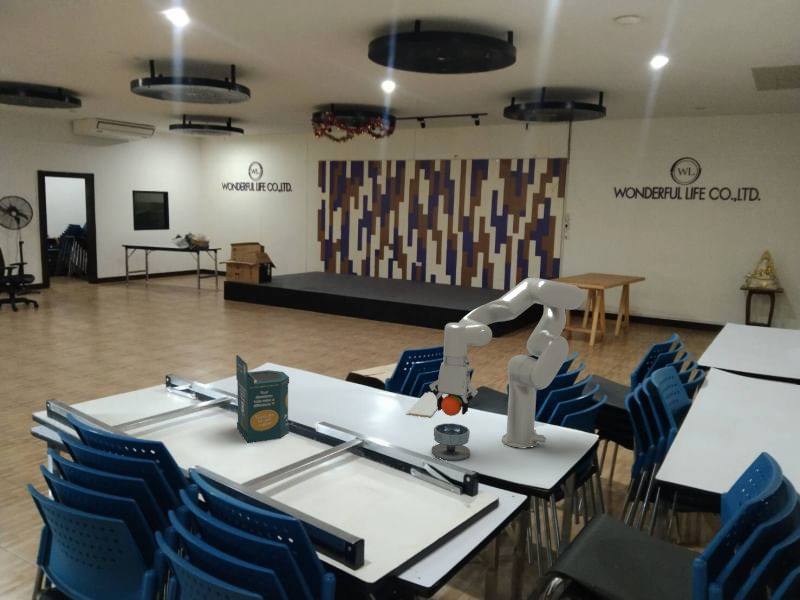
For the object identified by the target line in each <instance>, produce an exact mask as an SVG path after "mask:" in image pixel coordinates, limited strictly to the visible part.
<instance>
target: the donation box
mask: <svg viewBox="0 0 800 600" xmlns="http://www.w3.org/2000/svg"><path fill="white" fill-rule="evenodd" d="M235 357H236V359H235V360H236V362H235V364H236V365H235V368H236V369H235V370H236V376H235V377H236V381H237V422H236V429H237V431H238V430H239V431H238V432H239V434H240V435H241V434H242V435H241V436H242V438H243V437H244V438H243V439H244V441H245V440H246V441H245V442H246V444H247V443H248V444H254V443H259V442H266V441H272V440H280V439H283V438H284V437H285V436H286V435H288V434H290V426H289V384H290V376H288V375H287V374H286V373H285V372H284V371H280V370H270V369H267V370H258V371H248V364H247V362H245V360H244V359H243V358H242V357H241V356H240V355H238V354H236V356H235ZM253 442H254V443H253Z"/></svg>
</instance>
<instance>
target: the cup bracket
mask: <svg viewBox="0 0 800 600" xmlns="http://www.w3.org/2000/svg"><path fill="white" fill-rule="evenodd" d="M470 433H471V432H470V429H469V428H468V427H467V426H464V424H463V425H462V424H458V423H448V422H447V423H440V424H437V425H436V426H435V427H434V428H433V437H434V438H433V439H434V442H436V444H435V445H433V446H432V447H431V454H433V455H434V456H435V458H436V457H438V458H441V459H443V460H442V461H445V460H447V461H446V462H461V461H465V460H467V459H469V458H470V457H471V450H470V448H469V447H467V446H465V445H466V444H467V443H469V439H470ZM433 455H432V456H433ZM434 456H433V457H434ZM469 456H470V457H469ZM438 458H437V459H438ZM441 459H440V460H441Z"/></svg>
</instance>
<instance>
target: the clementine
mask: <svg viewBox="0 0 800 600" xmlns="http://www.w3.org/2000/svg"><path fill="white" fill-rule="evenodd" d="M462 403H463V402H462V400H461V399H460V398H459V397H458V395H453V394H448V396H446V397H445V398H444V399H443V400H442V403H441V408H442V409H441V410H442V412H443V413H444V414H445V415H447V416H449V417H453V416H456V415H457V416H458V414H459V413H460V412H461V411H462Z"/></svg>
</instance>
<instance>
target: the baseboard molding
mask: <svg viewBox="0 0 800 600" xmlns="http://www.w3.org/2000/svg"><path fill="white" fill-rule="evenodd" d="M425 391H426V390H424V391H423V395H422V396H421V397H420V398H419V399H418V400H416V402H415V403H414V404H413V405H412V407H410V408H409V409H408V410H407V411H406V413H405V414H406V415H405V416H411V415H412V417H419V416H420V418H427V417H428V419H431V418H432V417H433V416H434V414H435V413H436V412H437V411H438V407H437V398H436V396H435V395H434V394H433V392H431V391H432V390H431V389H429V391H427V392H425ZM448 395H449V394H447V393H444V394H443V395H442V397H443V399H444V398H445V397H446V396H448Z"/></svg>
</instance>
